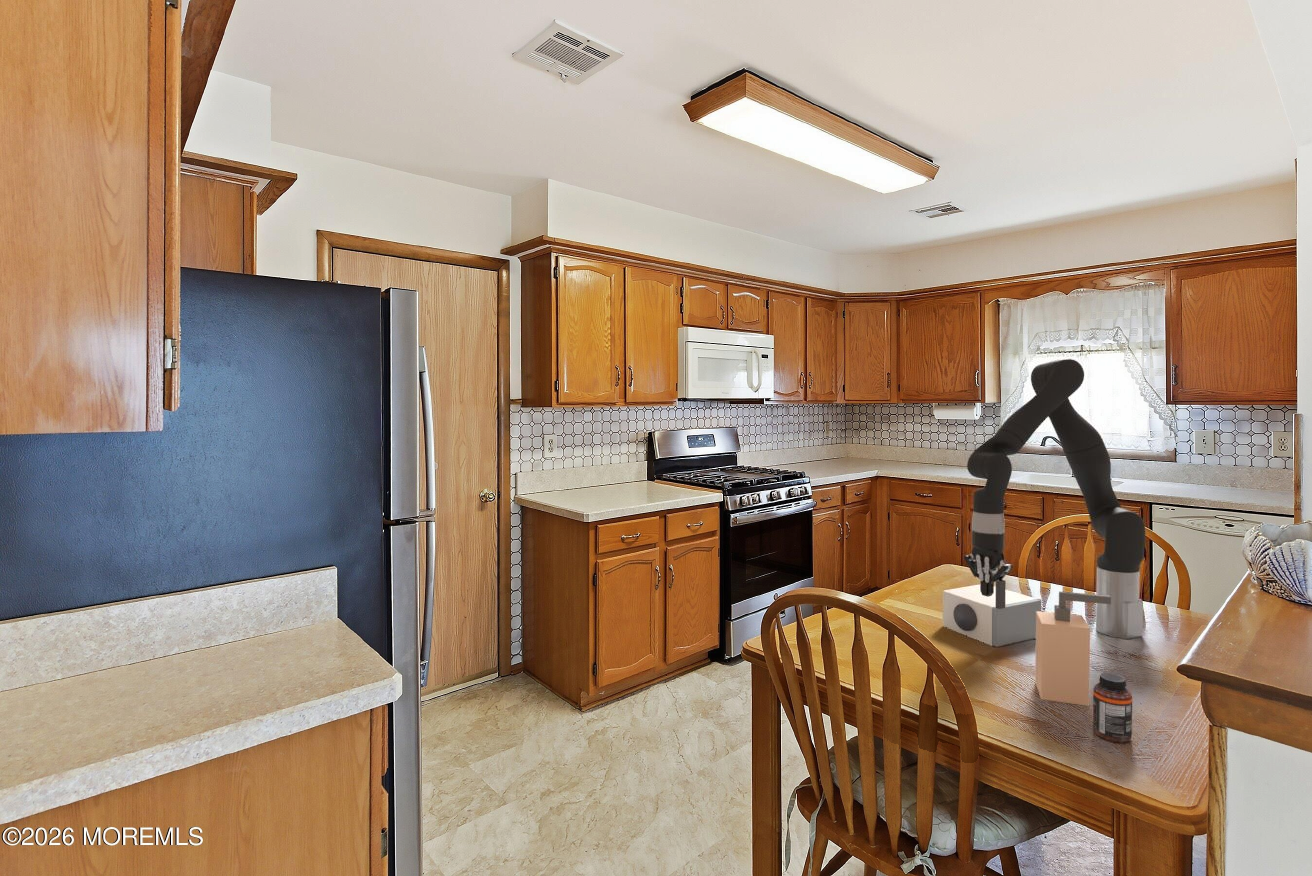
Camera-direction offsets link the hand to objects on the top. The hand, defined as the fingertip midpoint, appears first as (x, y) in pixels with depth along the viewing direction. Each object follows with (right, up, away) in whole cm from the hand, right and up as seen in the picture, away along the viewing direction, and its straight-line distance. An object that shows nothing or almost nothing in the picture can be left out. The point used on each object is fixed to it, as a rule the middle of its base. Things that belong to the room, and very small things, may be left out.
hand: (987, 595), depth 168 cm
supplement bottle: (-1, -15, -47) cm, 49 cm away
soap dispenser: (+3, -14, -30) cm, 34 cm away
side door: (+8, -12, 0) cm, 14 cm away
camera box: (+4, -12, +8) cm, 15 cm away
